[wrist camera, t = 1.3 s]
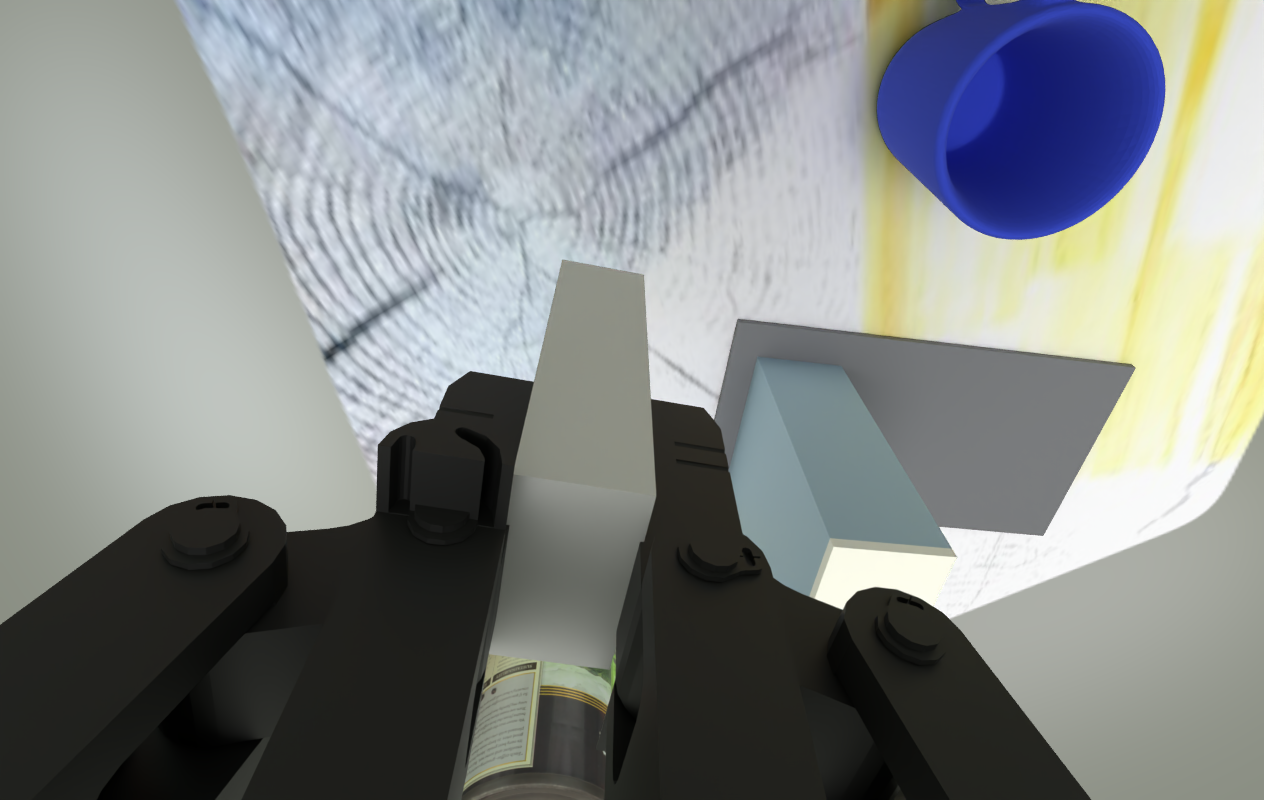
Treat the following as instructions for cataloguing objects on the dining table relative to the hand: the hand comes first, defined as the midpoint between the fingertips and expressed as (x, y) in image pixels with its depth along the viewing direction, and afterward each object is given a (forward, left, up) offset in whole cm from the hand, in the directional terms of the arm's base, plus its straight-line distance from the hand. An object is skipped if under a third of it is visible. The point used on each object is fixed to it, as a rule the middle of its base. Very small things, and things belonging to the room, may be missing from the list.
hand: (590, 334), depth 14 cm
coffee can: (+18, +33, -25) cm, 45 cm away
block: (-3, +21, -24) cm, 32 cm away
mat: (-10, +25, -25) cm, 36 cm away
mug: (-16, +4, -25) cm, 30 cm away
